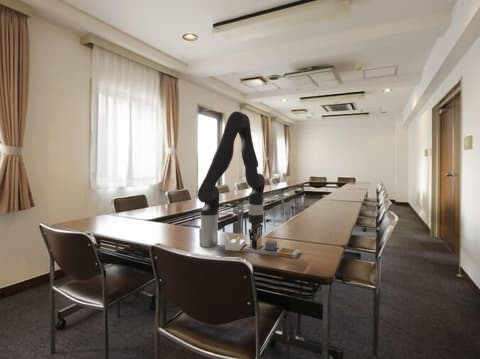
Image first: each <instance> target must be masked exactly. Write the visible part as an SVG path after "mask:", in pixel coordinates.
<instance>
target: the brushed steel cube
mask: <svg viewBox="0 0 480 359" xmlns="http://www.w3.org/2000/svg"><path fill="white" fill-rule="evenodd" d="M264 245H265V250H267V251H275V252H276V251H277V247H278V241H277V240H276V241H275V240H266V242H265V244H264Z"/></svg>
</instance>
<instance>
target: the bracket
mask: <svg viewBox="0 0 480 359" xmlns="http://www.w3.org/2000/svg"><path fill="white" fill-rule="evenodd" d="M224 244H225V245H224V246H225V247H224V249H225V251H235V252H239V251H240V250H241V249H242V248H244V246H245V245H246V239H241V237H240V236H238V237H236V238H233V239H230V237H229V236H228V235H227V236H225V238H224Z"/></svg>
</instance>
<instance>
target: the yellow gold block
mask: <svg viewBox="0 0 480 359" xmlns="http://www.w3.org/2000/svg"><path fill="white" fill-rule="evenodd" d="M256 241H257V247H256V248H252V240H250V239H249V242H250V243H249V244H250V248H251V249H259V250H260V249H261V248H262V245H263V243H262V242H263V238H262V236H261V237H259V236H257V240H256Z"/></svg>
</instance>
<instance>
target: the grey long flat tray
mask: <svg viewBox="0 0 480 359" xmlns="http://www.w3.org/2000/svg"><path fill="white" fill-rule="evenodd" d="M243 252H245V253H246V252H247V253H253V254H260V255H267V256H268V255H269V256H275V257H283V258H291V259H296V258H297V257H298V255H299V254H300V249H297V248H293V247H292V248H290V247H281V246H277V251H276V252H275V251H267V250H265V244H264V245H263V244H262V248H261V249H260V250H259V249H251V248H250V243H249V244H247V245H246V246H245V247H243Z"/></svg>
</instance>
